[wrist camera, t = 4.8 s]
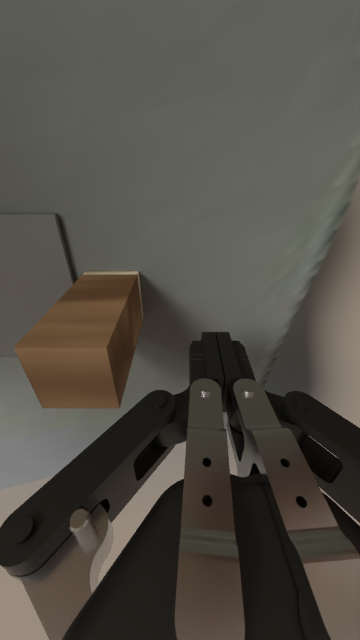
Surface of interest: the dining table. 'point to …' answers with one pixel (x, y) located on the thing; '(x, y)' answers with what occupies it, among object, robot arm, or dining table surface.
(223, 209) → the dining table surface
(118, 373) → the tan wooden block
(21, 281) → the mat
